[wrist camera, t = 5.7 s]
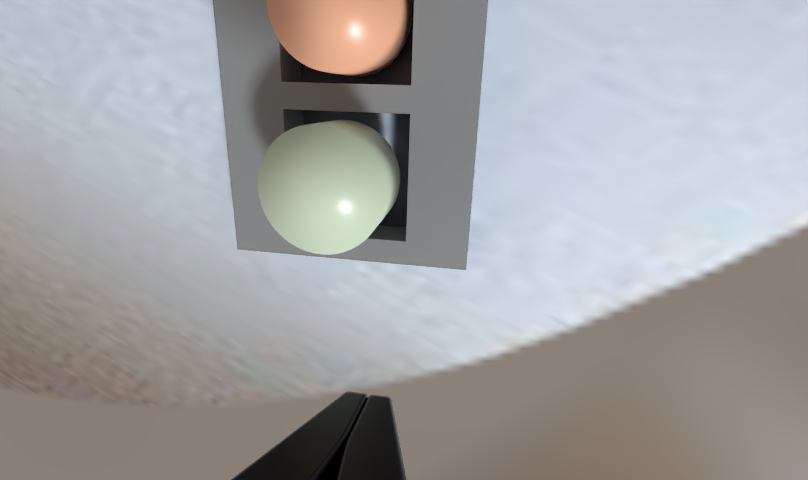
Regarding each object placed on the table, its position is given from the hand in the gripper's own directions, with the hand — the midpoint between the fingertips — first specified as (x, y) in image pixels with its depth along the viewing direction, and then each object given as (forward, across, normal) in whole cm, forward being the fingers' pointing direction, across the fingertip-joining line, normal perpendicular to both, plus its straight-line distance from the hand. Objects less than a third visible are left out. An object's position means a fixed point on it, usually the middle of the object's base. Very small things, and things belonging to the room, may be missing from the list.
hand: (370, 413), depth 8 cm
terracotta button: (+11, +4, -8) cm, 15 cm away
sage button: (+10, +4, -3) cm, 11 cm away
